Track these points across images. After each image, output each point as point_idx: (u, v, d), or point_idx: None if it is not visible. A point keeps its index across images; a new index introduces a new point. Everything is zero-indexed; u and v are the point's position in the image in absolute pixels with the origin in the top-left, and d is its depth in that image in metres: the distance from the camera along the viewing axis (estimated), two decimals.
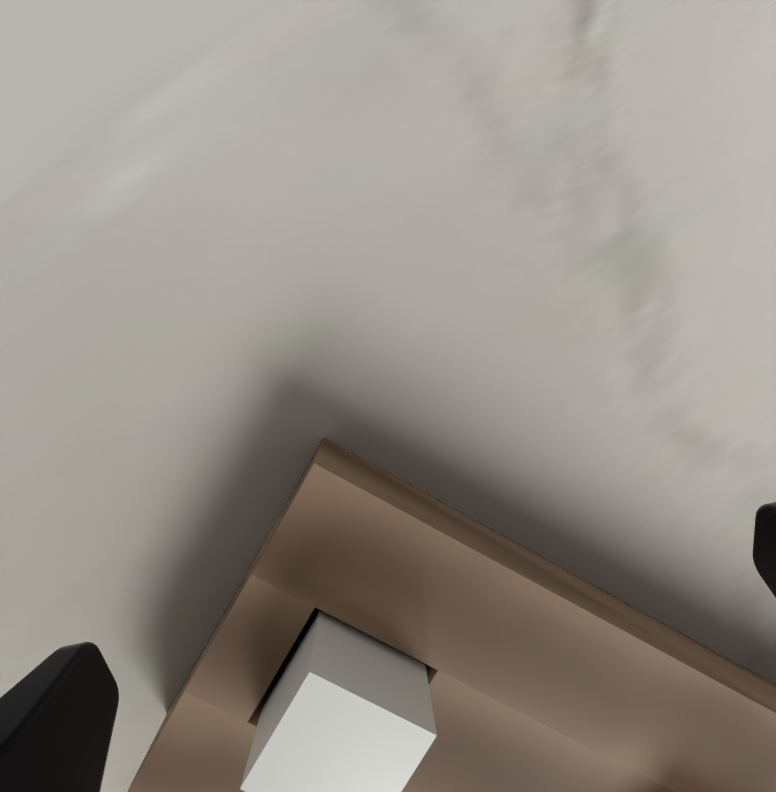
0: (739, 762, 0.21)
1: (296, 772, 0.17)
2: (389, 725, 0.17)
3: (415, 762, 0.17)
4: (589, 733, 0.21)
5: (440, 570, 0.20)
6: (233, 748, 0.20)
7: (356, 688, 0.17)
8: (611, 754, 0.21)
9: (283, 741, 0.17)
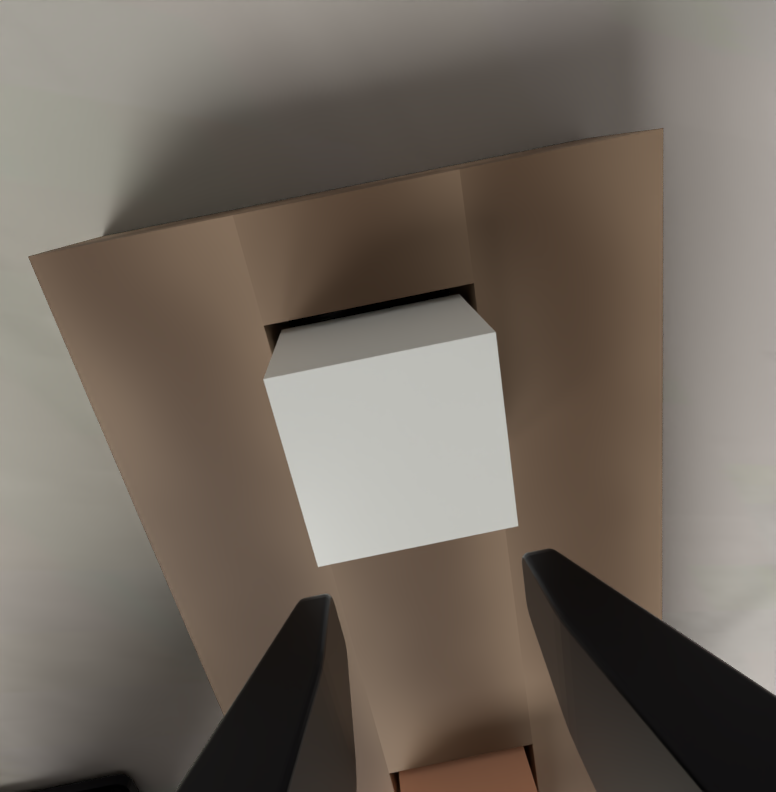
0: None
1: (346, 424, 0.11)
2: (493, 472, 0.12)
3: (467, 531, 0.12)
4: (535, 635, 0.17)
5: (615, 378, 0.14)
6: (215, 337, 0.13)
7: (500, 402, 0.11)
8: (527, 666, 0.18)
9: (375, 377, 0.11)
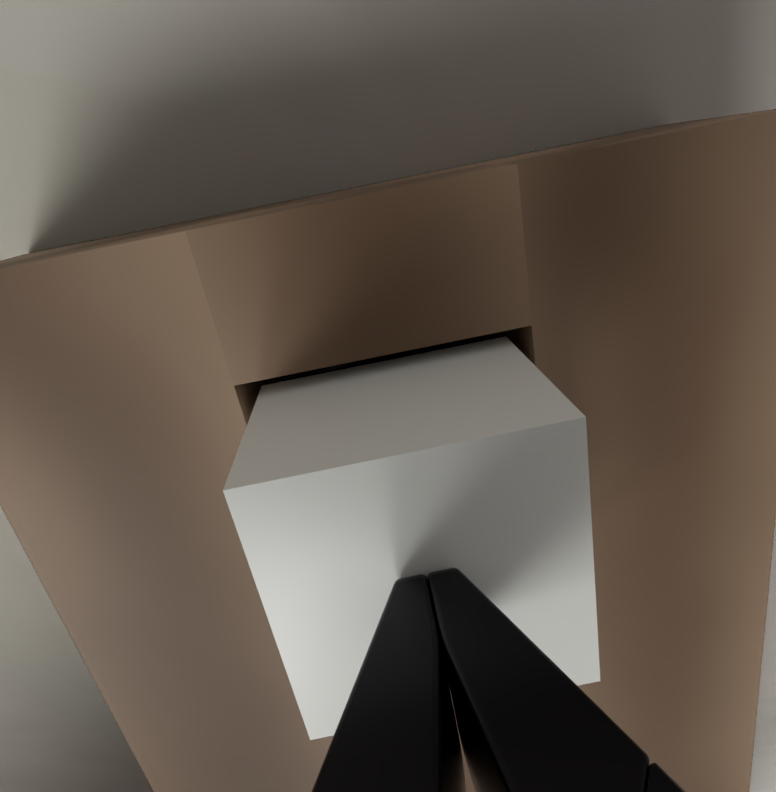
0: None
1: (352, 552, 0.07)
2: (568, 613, 0.08)
3: None
4: None
5: (719, 451, 0.10)
6: (165, 401, 0.09)
7: (582, 512, 0.08)
8: None
9: (398, 484, 0.07)
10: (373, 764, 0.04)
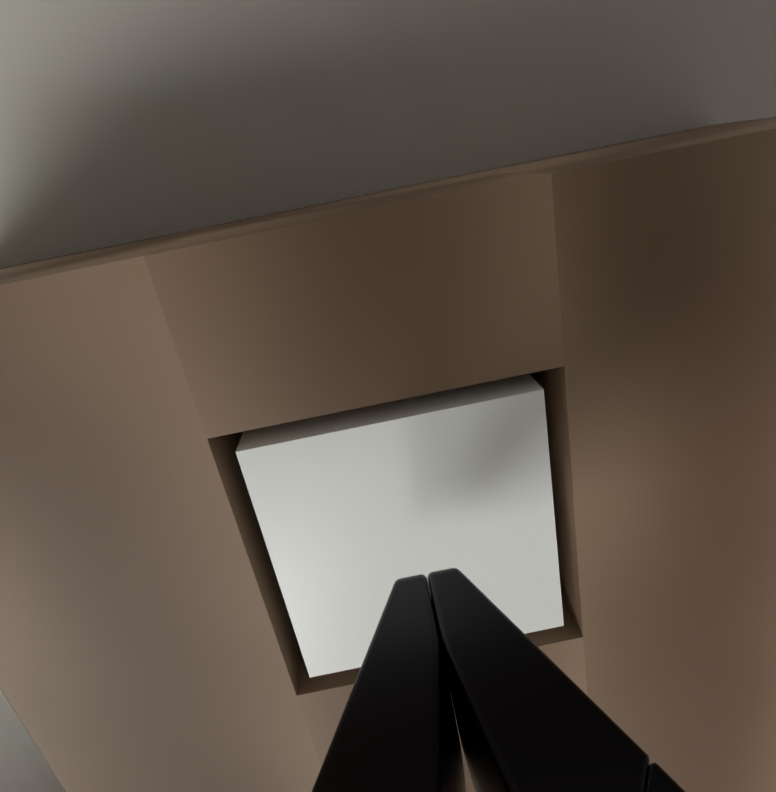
0: None
1: (345, 507, 0.08)
2: (534, 563, 0.09)
3: None
4: None
5: None
6: (125, 457, 0.08)
7: (544, 474, 0.09)
8: None
9: (384, 447, 0.08)
10: (373, 764, 0.04)
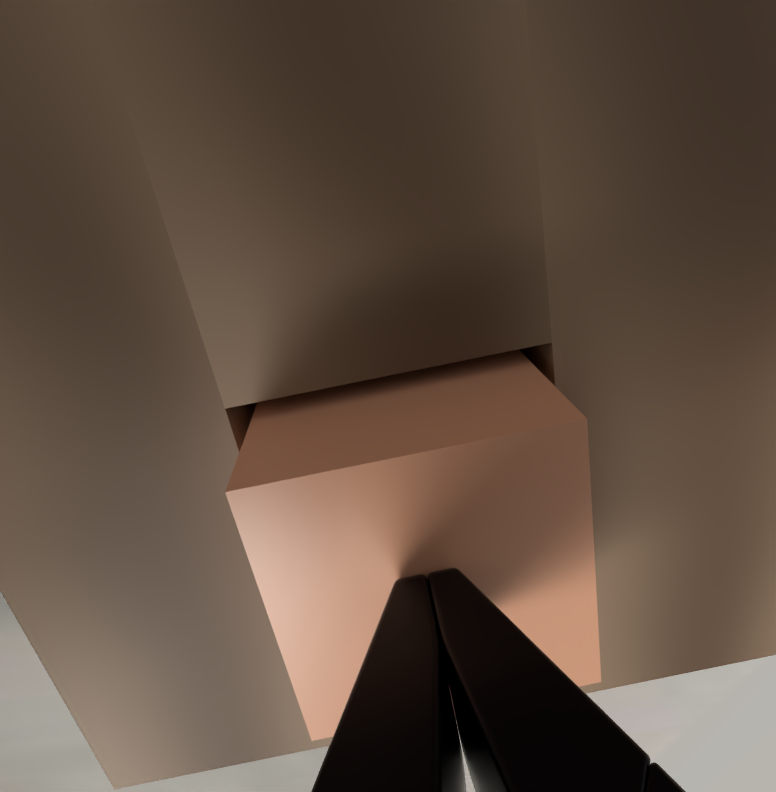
0: (693, 365, 0.09)
1: None
2: None
3: None
4: None
5: None
6: None
7: None
8: (543, 66, 0.07)
9: None
10: (373, 764, 0.04)
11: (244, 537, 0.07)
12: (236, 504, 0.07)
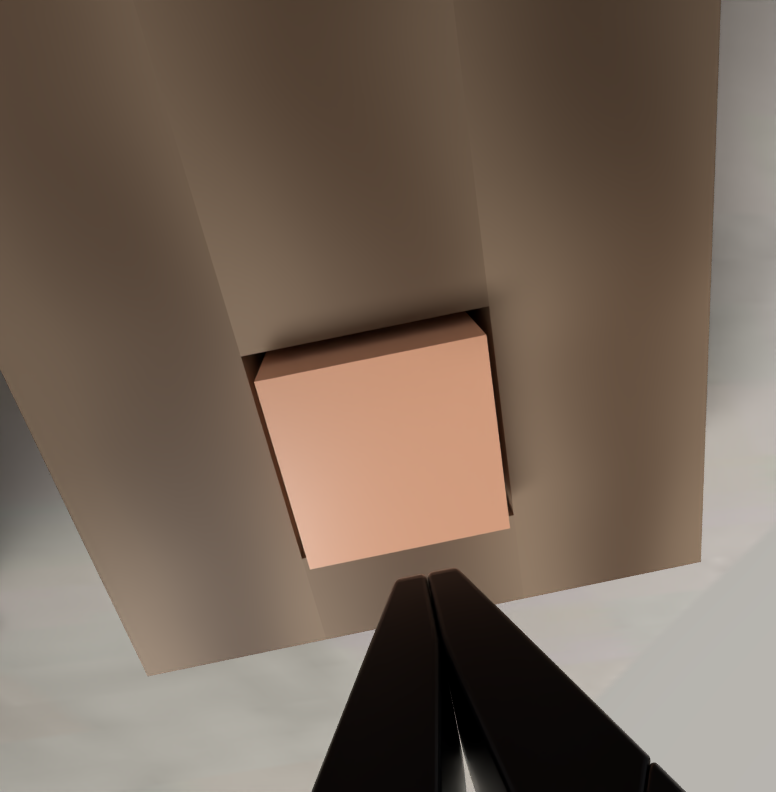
0: (598, 324, 0.11)
1: None
2: None
3: None
4: (485, 16, 0.09)
5: None
6: None
7: None
8: (474, 101, 0.10)
9: None
10: (373, 764, 0.04)
11: (266, 413, 0.11)
12: (261, 390, 0.10)
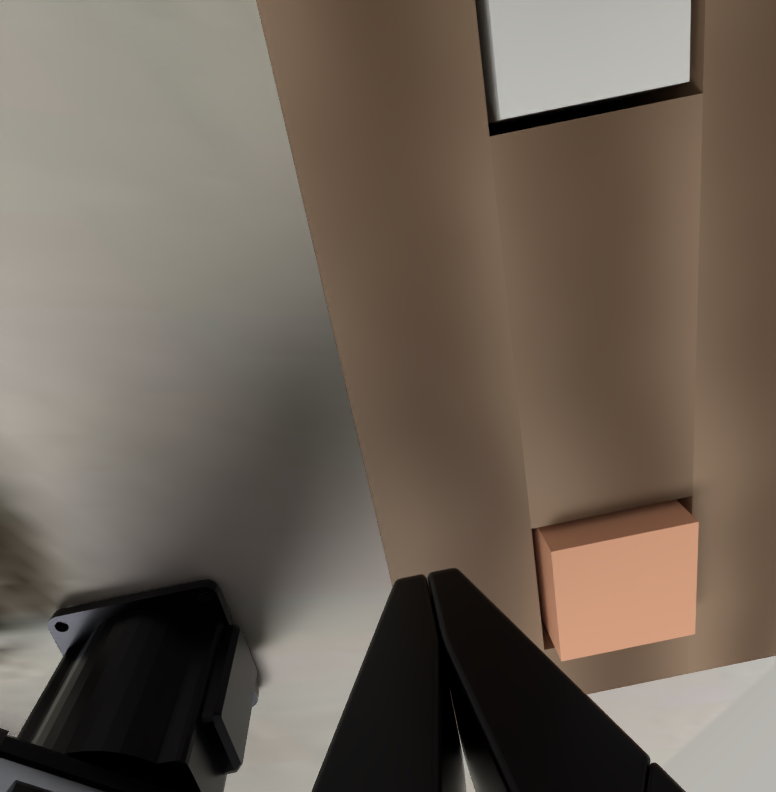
0: (761, 504, 0.17)
1: None
2: (672, 11, 0.12)
3: (642, 85, 0.13)
4: (714, 342, 0.15)
5: None
6: None
7: None
8: (701, 385, 0.16)
9: None
10: (373, 764, 0.04)
11: (554, 569, 0.17)
12: (554, 556, 0.16)
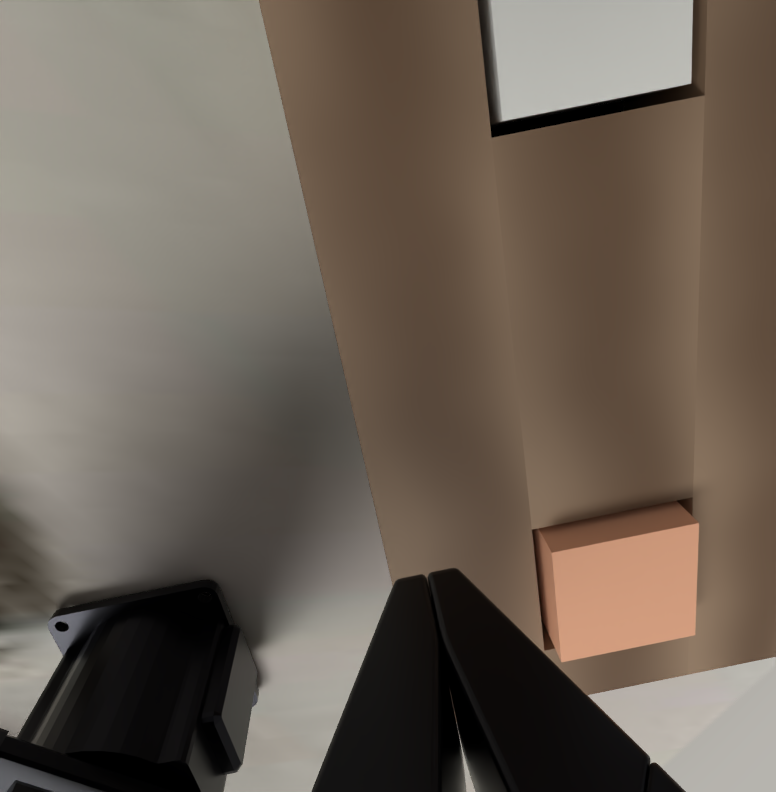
0: (761, 505, 0.17)
1: None
2: (675, 13, 0.12)
3: (644, 87, 0.13)
4: (715, 344, 0.15)
5: None
6: None
7: None
8: (701, 386, 0.16)
9: None
10: (373, 764, 0.04)
11: (555, 570, 0.17)
12: (555, 557, 0.16)
